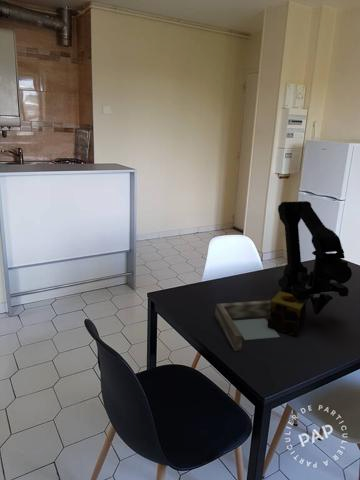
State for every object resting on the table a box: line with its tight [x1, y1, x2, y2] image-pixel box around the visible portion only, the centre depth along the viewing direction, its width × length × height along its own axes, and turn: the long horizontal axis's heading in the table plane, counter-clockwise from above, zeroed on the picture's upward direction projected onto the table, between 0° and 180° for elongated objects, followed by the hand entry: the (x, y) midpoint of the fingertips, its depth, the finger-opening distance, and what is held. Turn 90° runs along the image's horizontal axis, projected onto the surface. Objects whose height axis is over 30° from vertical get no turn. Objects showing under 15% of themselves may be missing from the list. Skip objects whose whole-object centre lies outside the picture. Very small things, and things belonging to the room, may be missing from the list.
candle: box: [267, 290, 308, 337], centre depth 125 cm, size 10×10×10 cm
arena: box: [214, 299, 271, 351], centre depth 123 cm, size 20×21×5 cm
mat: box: [233, 318, 281, 341], centre depth 124 cm, size 12×12×1 cm
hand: (316, 313), depth 127 cm, fingers closed
